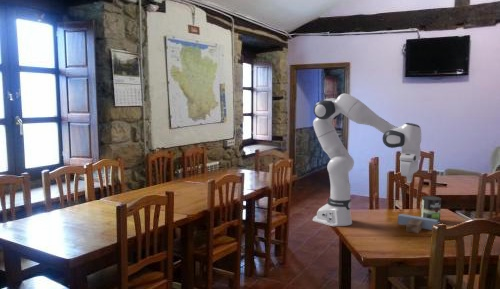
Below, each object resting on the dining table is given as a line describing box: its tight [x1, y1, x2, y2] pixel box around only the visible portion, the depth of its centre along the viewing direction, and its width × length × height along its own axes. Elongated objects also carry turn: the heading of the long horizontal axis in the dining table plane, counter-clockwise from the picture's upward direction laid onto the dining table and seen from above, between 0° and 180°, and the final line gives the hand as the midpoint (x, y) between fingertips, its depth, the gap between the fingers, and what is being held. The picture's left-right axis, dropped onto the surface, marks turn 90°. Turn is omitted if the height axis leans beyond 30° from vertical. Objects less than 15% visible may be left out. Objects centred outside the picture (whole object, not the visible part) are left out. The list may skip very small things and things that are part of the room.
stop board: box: [397, 213, 438, 231], centre depth 222 cm, size 20×4×5 cm, turn 54°
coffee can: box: [420, 195, 442, 224], centre depth 231 cm, size 10×10×14 cm
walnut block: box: [405, 219, 423, 234], centre depth 216 cm, size 6×10×4 cm, turn 145°
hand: (409, 182), depth 201 cm, fingers closed
